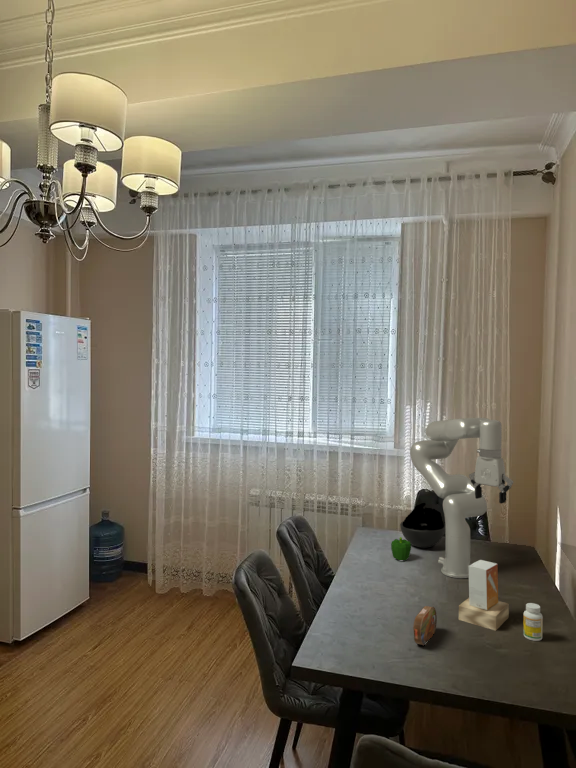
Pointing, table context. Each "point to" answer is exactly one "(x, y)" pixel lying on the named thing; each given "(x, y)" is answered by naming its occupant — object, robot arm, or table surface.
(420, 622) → the tin
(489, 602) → the small box
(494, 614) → the birch block
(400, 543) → the bell pepper
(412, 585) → the table surface
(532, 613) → the supplement bottle
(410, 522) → the coal bowl
